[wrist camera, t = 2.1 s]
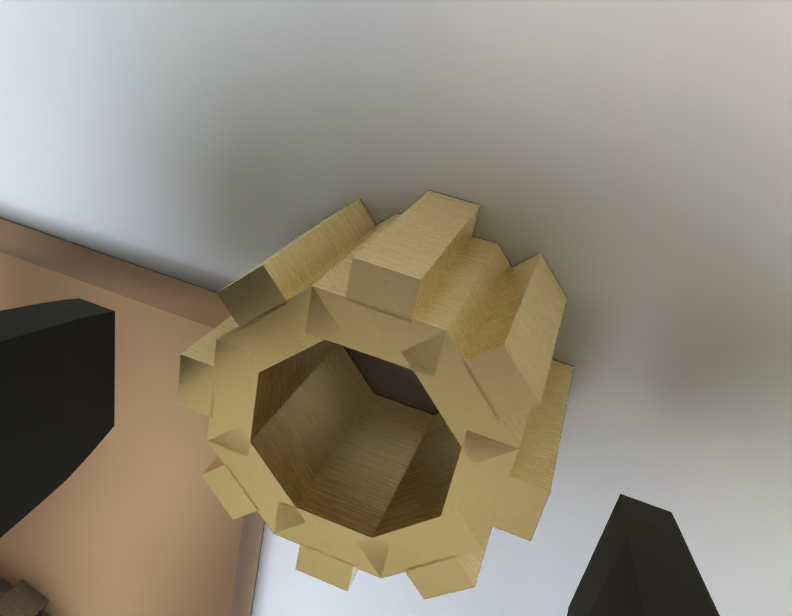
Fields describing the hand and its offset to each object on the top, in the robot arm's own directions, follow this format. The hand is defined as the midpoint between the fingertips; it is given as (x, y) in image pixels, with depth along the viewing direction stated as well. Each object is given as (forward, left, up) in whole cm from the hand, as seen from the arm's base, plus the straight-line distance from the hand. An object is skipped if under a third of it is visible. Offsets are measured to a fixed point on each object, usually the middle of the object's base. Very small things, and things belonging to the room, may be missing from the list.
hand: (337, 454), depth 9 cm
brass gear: (0, 0, -4) cm, 4 cm away
